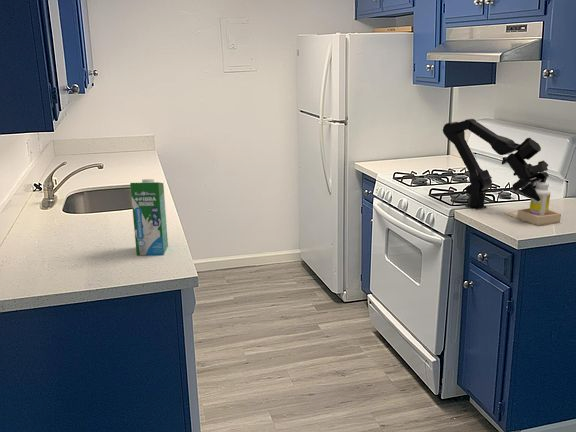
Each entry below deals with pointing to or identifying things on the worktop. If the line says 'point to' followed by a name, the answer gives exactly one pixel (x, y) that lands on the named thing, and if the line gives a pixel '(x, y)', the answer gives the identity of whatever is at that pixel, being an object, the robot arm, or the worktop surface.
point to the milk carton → (149, 217)
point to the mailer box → (536, 217)
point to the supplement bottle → (540, 206)
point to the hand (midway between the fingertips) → (543, 199)
